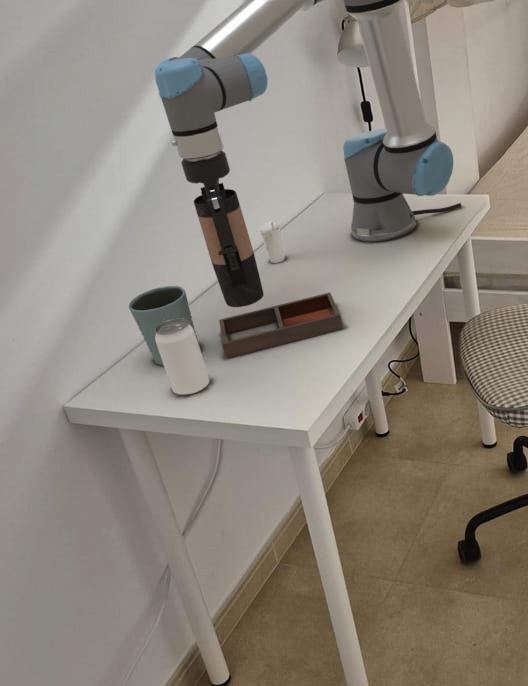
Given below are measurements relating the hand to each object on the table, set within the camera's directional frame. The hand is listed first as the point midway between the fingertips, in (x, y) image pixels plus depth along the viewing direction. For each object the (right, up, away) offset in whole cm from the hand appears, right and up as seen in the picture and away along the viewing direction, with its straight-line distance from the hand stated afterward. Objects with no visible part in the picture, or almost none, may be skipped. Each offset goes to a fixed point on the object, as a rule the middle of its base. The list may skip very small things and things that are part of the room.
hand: (238, 275), depth 160 cm
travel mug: (+1, -4, +2) cm, 5 cm away
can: (-6, -20, -7) cm, 22 cm away
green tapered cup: (-13, -15, +5) cm, 20 cm away
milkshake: (-1, +7, +40) cm, 40 cm away
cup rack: (+7, -10, +7) cm, 14 cm away
